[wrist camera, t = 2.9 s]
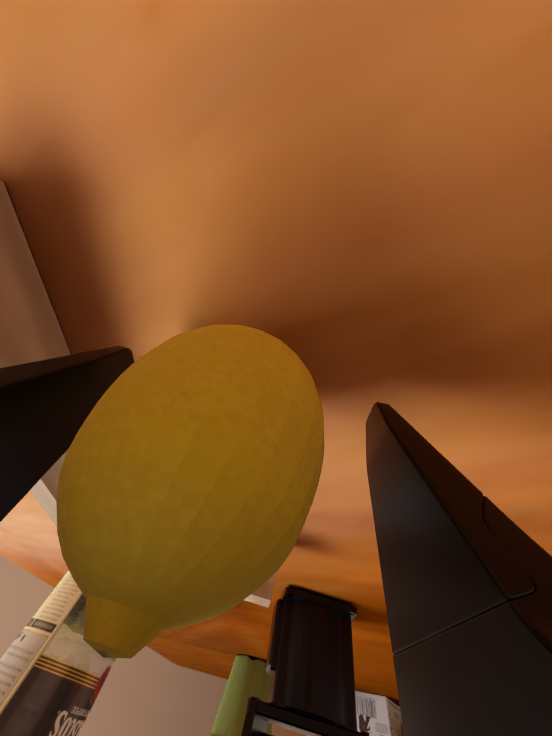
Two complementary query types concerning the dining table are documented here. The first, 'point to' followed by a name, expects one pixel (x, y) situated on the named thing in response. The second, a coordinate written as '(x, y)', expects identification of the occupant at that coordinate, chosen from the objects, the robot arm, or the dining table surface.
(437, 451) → the robot arm
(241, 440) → the lemon
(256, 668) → the plant pot
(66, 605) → the coffee can
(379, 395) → the dining table surface
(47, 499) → the beige l-shaped bar
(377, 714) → the coffee box
